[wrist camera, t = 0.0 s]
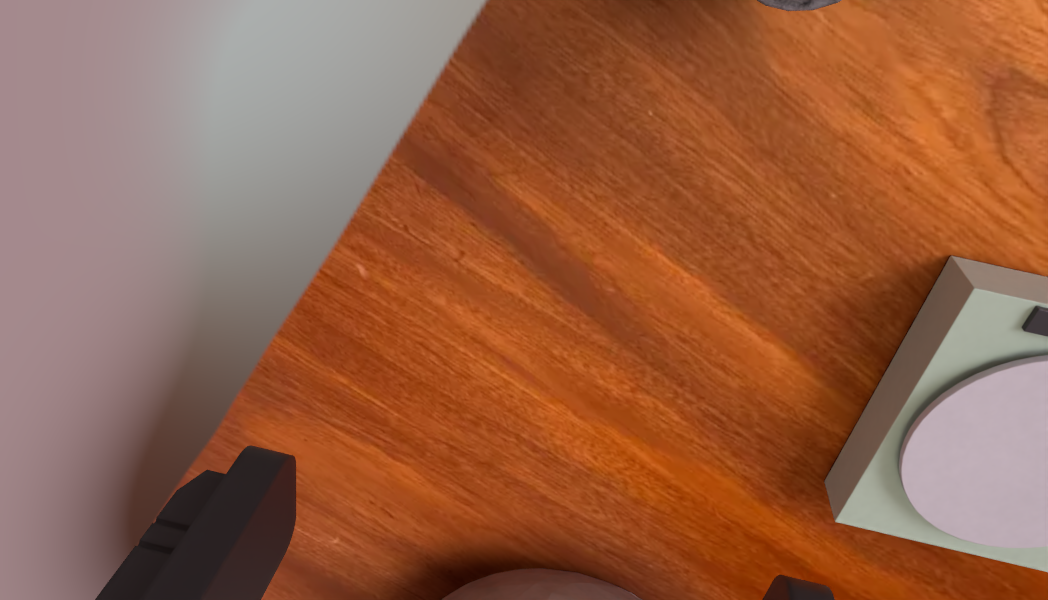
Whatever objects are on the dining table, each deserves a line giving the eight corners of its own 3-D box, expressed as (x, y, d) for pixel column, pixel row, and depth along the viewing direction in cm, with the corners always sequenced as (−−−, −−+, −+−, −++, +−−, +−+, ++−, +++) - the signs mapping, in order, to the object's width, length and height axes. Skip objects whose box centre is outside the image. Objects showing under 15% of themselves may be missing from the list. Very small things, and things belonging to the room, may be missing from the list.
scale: (950, 255, 31) (981, 298, 28) (1234, 317, 31) (1297, 368, 28) (823, 481, 39) (837, 534, 36) (1050, 534, 38) (1084, 593, 35)
